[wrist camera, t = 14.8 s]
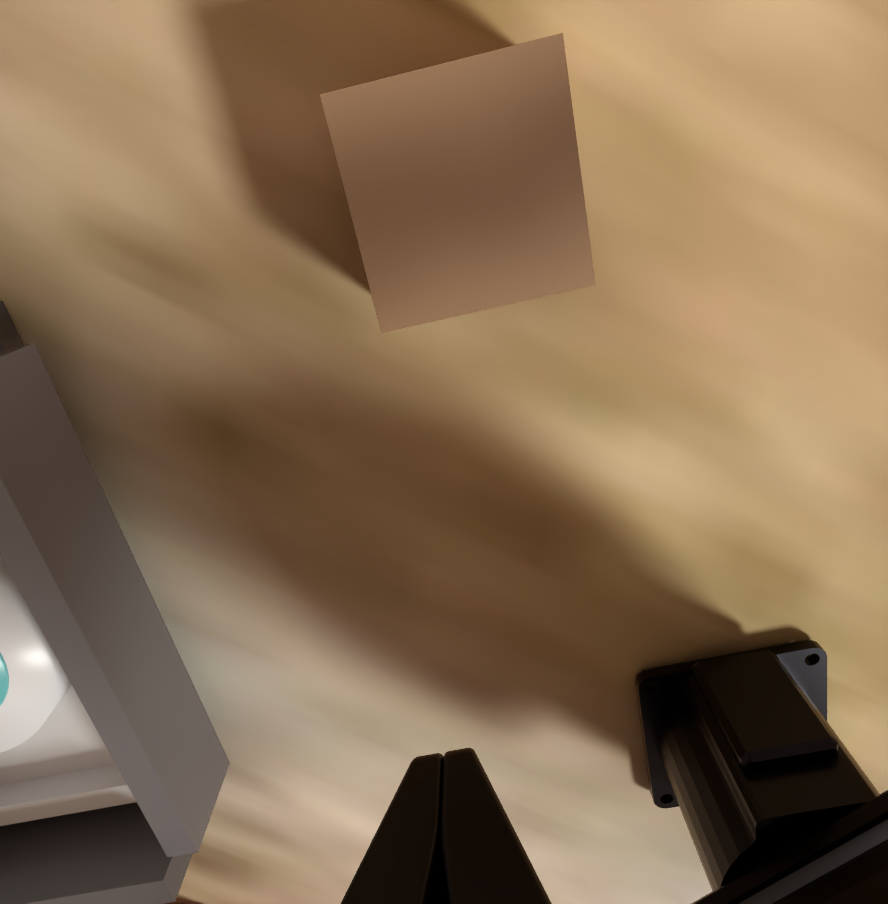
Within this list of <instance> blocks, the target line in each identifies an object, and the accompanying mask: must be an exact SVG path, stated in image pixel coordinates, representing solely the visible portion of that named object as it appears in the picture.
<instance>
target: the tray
mask: <svg viewBox="0 0 888 904" xmlns="http://www.w3.org/2000/svg"><path fill="white" fill-rule="evenodd" d="M0 557H1V558H2V560H3V562H4V564H5V566H6V567H7V569H8V571H9V573H10V575H11V576H12V578H13V580H14V582H15V584H16V585H17V587H18V589H19V591H20V593H21V594H22V596H23V598H24V600H25V602H26V603H27V605H28V607H29V609H30V611H31V612H32V614H33V616H34V618H35V620H36V622H37V623H38V625H39V627H40V629H41V631H42V632H43V634H44V636H45V638H46V640H47V641H48V643H49V645H50V647H51V649H52V650H53V652H54V654H55V656H56V658H57V659H58V661H59V663H60V665H61V667H62V668H63V670H64V672H65V674H66V676H67V677H68V679H69V681H70V683H71V686H70V687H69V689H68V690H67V692H66V693H65V694H64V696H63V697H62V699H61V700H60V701H59V703H58V704H57V706H56V707H55V708H54V710H53V711H52V712H51V714H50V715H49V717H48V718H47V719H46V721H45V722H44V724H43V725H42V726H41V728H40V729H39V730H38V731H37V732H36V733H35V734H34V735H33V736H32V737H30V738H29V739H27V740H26V741H25V742H23V743H22V744H20V745H18V746H16V747H14V748H12V749H9V750H6V751H4V752H1V753H0V826H4V825H10V824H15V823H21V822H27V821H32V820H38V819H44V818H49V817H55V816H60V815H66V814H72V813H77V812H83V811H89V810H94V809H100V808H106V807H111V806H117V805H123V804H128V803H134V802H137V803H138V805H139V807H140V809H141V811H142V812H143V814H144V816H145V818H146V820H147V821H148V823H149V825H150V827H151V829H152V830H153V832H154V834H155V836H156V838H157V839H158V841H159V843H160V845H161V847H162V848H163V850H164V852H165V854H166V856H167V857H173V856H179V855H184V854H190V853H196V852H198V851H199V848H200V845H201V842H202V839H203V837H204V834H205V831H206V828H207V825H208V822H209V820H210V817H211V814H212V811H213V808H214V806H215V803H216V800H217V797H218V794H219V791H220V789H221V786H222V783H223V780H224V777H225V774H226V772H227V769H228V766H229V763H230V762H229V760H228V758H227V756H226V754H225V752H224V749H223V747H222V745H221V743H220V741H219V739H218V737H217V734H216V732H215V730H214V728H213V726H212V724H211V722H210V719H209V717H208V715H207V713H206V711H205V709H204V707H203V704H202V702H201V700H200V698H199V696H198V694H197V691H196V689H195V687H194V685H193V683H192V681H191V679H190V676H189V674H188V672H187V670H186V668H185V666H184V664H183V661H182V659H181V657H180V655H179V653H178V651H177V649H176V646H175V644H174V642H173V640H172V638H171V636H170V633H169V631H168V629H167V627H166V625H165V623H164V621H163V618H162V616H161V614H160V612H159V610H158V608H157V606H156V603H155V601H154V599H153V597H152V595H151V593H150V591H149V588H148V586H147V584H146V582H145V580H144V578H143V575H142V573H141V571H140V569H139V567H138V565H137V563H136V560H135V558H134V556H133V554H132V552H131V550H130V548H129V545H128V543H127V541H126V539H125V537H124V535H123V533H122V530H121V528H120V526H119V524H118V522H117V520H116V517H115V515H114V513H113V511H112V509H111V507H110V505H109V502H108V500H107V498H106V496H105V494H104V492H103V490H102V487H101V485H100V483H99V481H98V479H97V477H96V474H95V472H94V470H93V468H92V466H91V464H90V462H89V459H88V457H87V455H86V453H85V451H84V449H83V447H82V444H81V442H80V440H79V438H78V436H77V434H76V432H75V429H74V427H73V425H72V423H71V421H70V419H69V416H68V414H67V412H66V410H65V408H64V406H63V404H62V401H61V399H60V397H59V395H58V393H57V391H56V389H55V386H54V384H53V382H52V380H51V378H50V376H49V374H48V371H47V369H46V367H45V365H44V363H43V361H42V358H41V356H40V354H39V352H38V350H37V348H36V346H35V343H33V344H29V345H25V346H20V347H16V348H12V349H7V350H3V351H0Z"/></svg>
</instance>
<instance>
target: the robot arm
mask: <svg viewBox="0 0 888 904" xmlns="http://www.w3.org/2000/svg"><path fill="white" fill-rule="evenodd" d="M810 654H812V655H811V656H809V657H807V656H808V655H810ZM806 657H807V658H806ZM652 682H655V683H654V684H653V685H651V686H647V685H648V684H649V683H652ZM635 684H636V692H637V699H638V706H639V713H640V720H641V727H642V735H643V742H644V749H645V756H646V763H647V771H648V778H649V785H650V792H651V795H652V798H653V801H654V803H655V805H657V806H658V807H660V808H671V807H677V806H680V809H681V811H682V814H683V817H684V819H685V822H686V824H687V827H688V829H689V832H690V834H691V837H692V840H693V842H694V845H695V847H696V850H697V852H698V855H699V857H700V860H701V863H702V865H703V868H704V870H705V873H706V875H707V878H708V880H709V883H710V885H711V888H712V891H713V892H711V893H709V894H707V895H706V896H704V897H702V898H701V899H699V900H697V901H695V902H694V903H692V904H888V790H887V791H885V792H884V793H882V794H879V793H878V791H877V790H876V788H875V787H874V786H873V784H872V783H871V782H870V780H869V779H868V777H867V776H866V775H865V773H864V772H863V771H862V769H861V768H860V766H859V765H858V764H857V762H856V761H855V760H854V758H853V757H852V755H851V754H850V753H849V751H848V750H847V749H846V747H845V746H844V744H843V743H842V742H841V740H840V739H839V738H838V736H837V735H836V733H835V732H834V731H833V729H832V728H831V727H830V725H829V724H828V722H827V655H826V652H825V651H824V650H823V649H822V647H821V646H820V645H819V644H818V643H817V642H815V641H812V640H806V641H801V642H795V643H790V644H784V645H779V646H773V647H767V648H762V649H756V650H751V651H745V652H740V653H734V654H729V655H723V656H718V657H712V658H707V659H701V660H696V661H690V662H685V663H679V664H674V665H668V666H663V667H657V668H652V669H647V670H644V671H642V672H641V673H639V674H638V676H637V677H636V681H635ZM341 904H551V902H550V900H549V898H548V896H547V894H546V892H545V890H544V888H543V886H542V884H541V882H540V880H539V878H538V876H537V874H536V872H535V870H534V868H533V866H532V864H531V862H530V860H529V858H528V856H527V854H526V852H525V850H524V848H523V846H522V844H521V842H520V840H519V838H518V836H517V834H516V832H515V830H514V828H513V826H512V824H511V822H510V820H509V818H508V816H507V814H506V812H505V810H504V809H503V807H502V805H501V803H500V801H499V799H498V797H497V795H496V793H495V791H494V789H493V787H492V785H491V783H490V781H489V779H488V777H487V775H486V773H485V771H484V769H483V767H482V765H481V763H480V761H479V759H478V757H477V755H476V753H475V751H474V750H473V749H472V748H465V749H459V750H453V751H448V752H446V753H445V755H444V756H443V755H442V754H439V753H436V754H431V755H425V756H419V757H416V758H414V759H413V760H412V762H411V764H410V766H409V768H408V770H407V772H406V774H405V776H404V778H403V780H402V782H401V784H400V786H399V788H398V790H397V792H396V794H395V796H394V798H393V800H392V802H391V804H390V806H389V808H388V810H387V812H386V814H385V816H384V818H383V820H382V822H381V824H380V826H379V828H378V830H377V832H376V834H375V836H374V838H373V840H372V842H371V844H370V846H369V848H368V850H367V852H366V854H365V856H364V858H363V860H362V862H361V864H360V866H359V868H358V870H357V872H356V874H355V876H354V878H353V880H352V882H351V884H350V886H349V888H348V890H347V892H346V894H345V896H344V898H343V900H342V902H341Z"/></svg>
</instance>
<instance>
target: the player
mask: <svg viewBox="0 0 888 904" xmlns="http://www.w3.org/2000/svg"><path fill="white" fill-rule="evenodd" d="M20 346H23V344H22V342H21V340H20V337H19V335H18V333H17V331H16V329H15V327H14V325H13V323H12V321H11V318H10V316H9V314H8V312H7V310H6V308H5V306H4V304H3V301H1V302H0V351H3V350H7V349H12V348H16V347H20ZM192 854H193V853H190V854H184V855H179V856H173V857H167V856H166V854H165V852H164V850H163V848H162V847H161V845H160V843H159V841H158V839H157V838H156V836H155V834H154V832H153V830H152V829H151V827H150V825H149V823H148V821H147V820H146V818H145V816H144V814H143V812H142V811H141V809H140V807H139V805H138V803H137V802H134V803H128V804H123V805H117V806H111V807H106V808H100V809H94V810H89V811H83V812H77V813H72V814H66V815H60V816H55V817H49V818H44V819H38V820H32V821H27V822H21V823H15V824H10V825H4V826H0V904H164V903H170V902H175V901H176V898H177V895H178V892H179V890H180V887H181V884H182V881H183V879H184V876H185V873H186V870H187V867H188V865H189V862H190V859H191V856H192Z"/></svg>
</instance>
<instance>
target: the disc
mask: <svg viewBox="0 0 888 904" xmlns="http://www.w3.org/2000/svg"><path fill="white" fill-rule="evenodd" d="M70 686H71V683H70V681H69V679H68V677H67V676H66V674H65V672H64V670H63V668H62V667H61V665H60V663H59V661H58V659H57V658H56V656H55V654H54V652H53V650H52V649H51V647H50V645H49V643H48V641H47V640H46V638H45V636H44V634H43V632H42V631H41V629H40V627H39V625H38V623H37V622H36V620H35V618H34V616H33V614H32V612H31V611H30V609H29V607H28V605H27V603H26V602H25V600H24V598H23V596H22V594H21V593H20V591H19V589H18V587H17V585H16V584H15V582H14V580H13V578H12V576H11V575H10V573H9V571H8V569H7V567H6V566H5V564H4V562H3V560H2V558H1V557H0V753H1V752H4V751H6V750H9V749H12V748H14V747H16V746H18V745H20V744H22V743H23V742H25V741H26V740H27V739H29V738H30V737H32V736H33V735H34V734H35V733H36V732H37V731H38V730H39V729H40V728H41V726H42V725H43V724H44V722H45V721H46V719H47V718H48V717H49V715H50V714H51V712H52V711H53V710H54V708H55V707H56V706H57V704H58V703H59V701H60V700H61V699H62V697H63V696H64V694H65V693H66V692H67V690H68V689H69V687H70Z"/></svg>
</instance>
